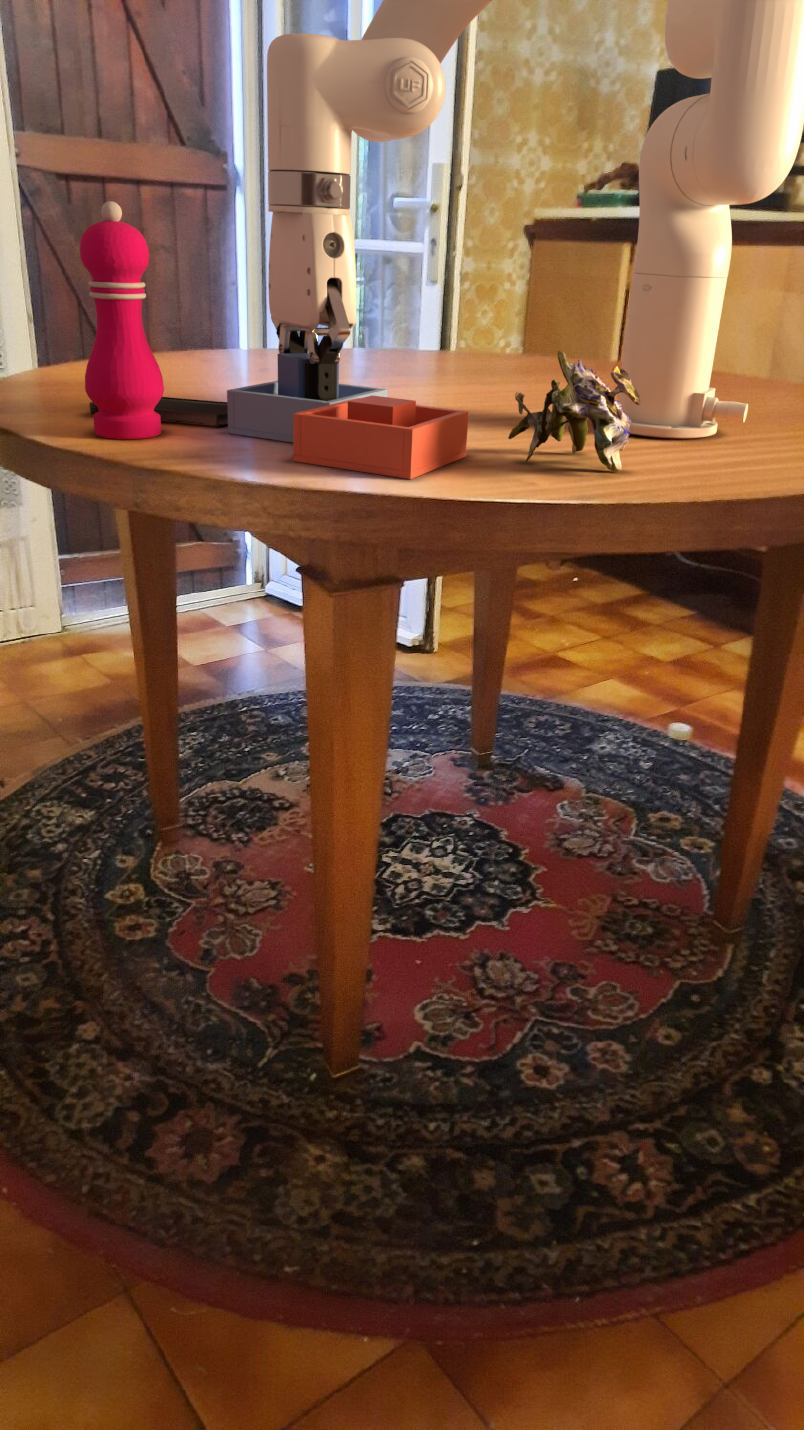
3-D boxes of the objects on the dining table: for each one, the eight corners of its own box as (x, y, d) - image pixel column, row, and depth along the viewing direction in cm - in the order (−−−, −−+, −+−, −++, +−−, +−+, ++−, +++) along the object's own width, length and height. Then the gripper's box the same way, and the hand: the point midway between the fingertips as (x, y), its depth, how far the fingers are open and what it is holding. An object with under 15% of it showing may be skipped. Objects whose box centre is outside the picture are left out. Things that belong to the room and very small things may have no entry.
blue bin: (386, 430, 105) (388, 389, 103) (329, 448, 96) (329, 403, 94) (291, 417, 110) (291, 377, 108) (227, 433, 100) (226, 390, 98)
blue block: (338, 406, 101) (339, 358, 99) (297, 408, 99) (298, 359, 97) (317, 399, 104) (317, 352, 102) (277, 400, 102) (277, 353, 100)
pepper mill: (176, 429, 101) (163, 204, 92) (153, 442, 95) (137, 202, 86) (105, 424, 102) (86, 200, 93) (77, 438, 95) (54, 198, 86)
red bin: (465, 456, 95) (468, 411, 93) (410, 479, 85) (412, 429, 84) (357, 441, 99) (357, 397, 98) (293, 461, 90) (292, 413, 88)
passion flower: (602, 529, 94) (646, 437, 84) (488, 499, 94) (518, 404, 83) (616, 441, 100) (658, 345, 89) (508, 413, 99) (538, 314, 89)
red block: (413, 451, 93) (416, 400, 91) (391, 459, 89) (393, 407, 87) (370, 445, 95) (371, 395, 93) (346, 453, 91) (347, 401, 89)
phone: (120, 393, 112) (249, 403, 109) (121, 404, 112) (250, 414, 109) (84, 403, 105) (221, 415, 102) (85, 415, 105) (221, 426, 102)
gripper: (392, 199, 89) (384, 414, 97) (303, 198, 102) (303, 388, 110) (316, 194, 85) (314, 418, 93) (234, 194, 98) (238, 390, 106)
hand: (308, 399), depth 101 cm, fingers closed on blue block, 4 cm apart
